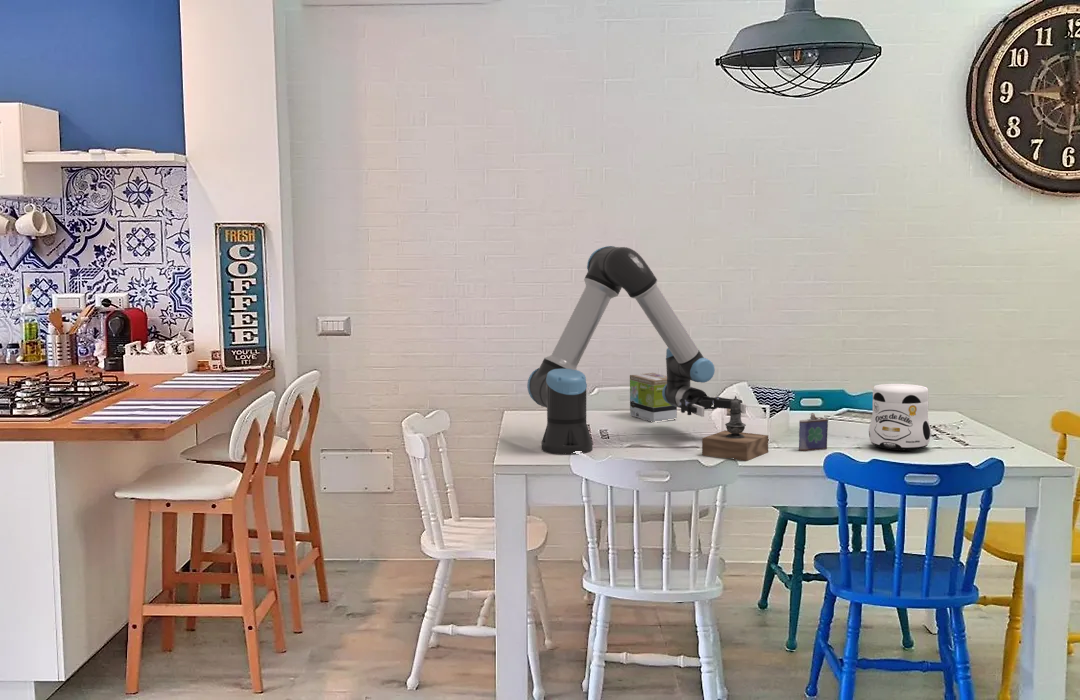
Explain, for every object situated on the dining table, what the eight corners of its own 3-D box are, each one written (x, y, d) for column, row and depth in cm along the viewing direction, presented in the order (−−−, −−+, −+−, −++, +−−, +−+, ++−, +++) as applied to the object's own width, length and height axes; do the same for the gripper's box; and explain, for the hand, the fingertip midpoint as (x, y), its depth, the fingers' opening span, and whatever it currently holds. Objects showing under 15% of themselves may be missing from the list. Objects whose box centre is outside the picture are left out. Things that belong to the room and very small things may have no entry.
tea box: (628, 416, 383) (628, 374, 381) (653, 413, 387) (653, 372, 386) (653, 423, 370) (653, 379, 368) (678, 420, 374) (678, 377, 373)
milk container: (879, 454, 317) (880, 392, 315) (860, 442, 334) (862, 383, 332) (939, 453, 317) (941, 391, 315) (917, 441, 334) (919, 382, 332)
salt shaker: (731, 433, 324) (731, 393, 322) (749, 436, 320) (749, 395, 318) (721, 437, 319) (721, 395, 318) (739, 439, 315) (739, 397, 314)
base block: (746, 461, 310) (746, 443, 310) (702, 455, 319) (702, 438, 318) (768, 452, 321) (768, 435, 321) (724, 446, 330) (724, 430, 329)
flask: (801, 451, 322) (802, 415, 321) (796, 449, 325) (796, 413, 324) (829, 449, 325) (829, 413, 324) (823, 447, 328) (824, 411, 327)
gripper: (728, 409, 350) (761, 420, 330) (655, 414, 342) (685, 426, 322) (728, 385, 349) (761, 395, 329) (655, 390, 341) (685, 400, 321)
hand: (724, 410), depth 325 cm, fingers open, 13 cm apart
